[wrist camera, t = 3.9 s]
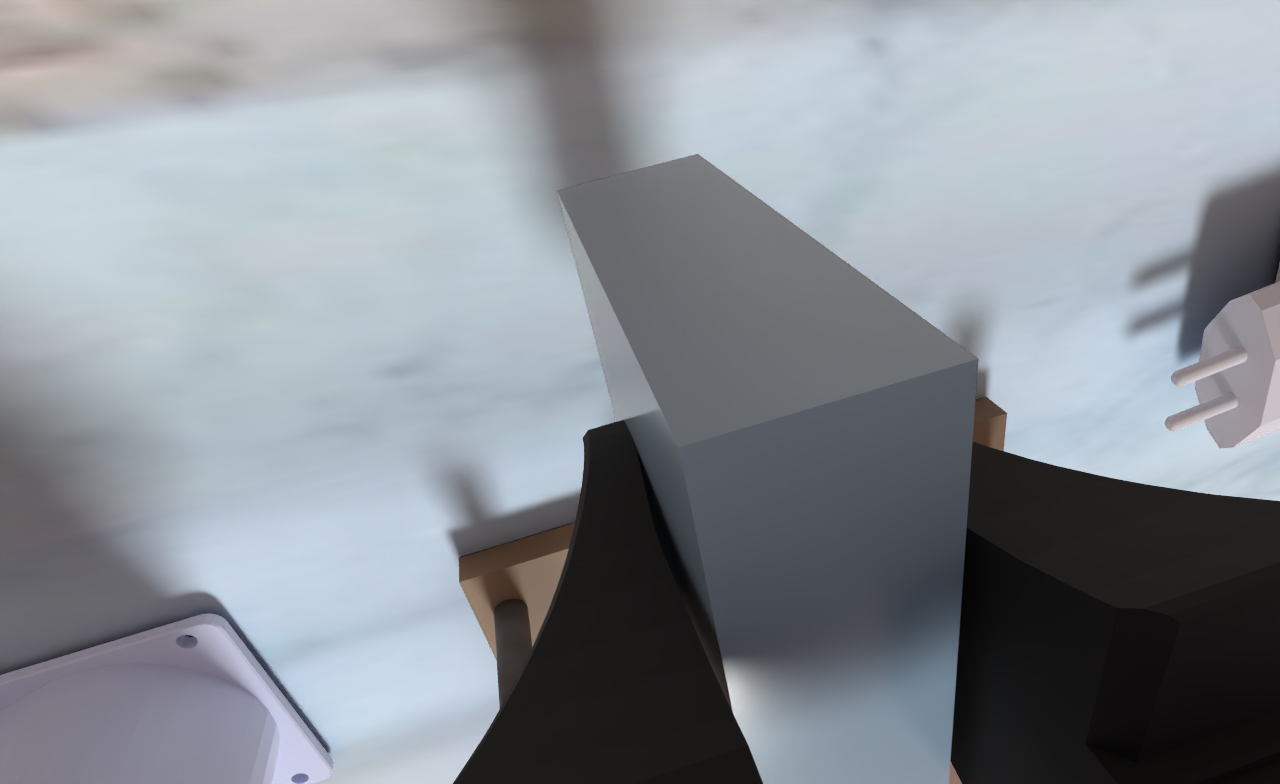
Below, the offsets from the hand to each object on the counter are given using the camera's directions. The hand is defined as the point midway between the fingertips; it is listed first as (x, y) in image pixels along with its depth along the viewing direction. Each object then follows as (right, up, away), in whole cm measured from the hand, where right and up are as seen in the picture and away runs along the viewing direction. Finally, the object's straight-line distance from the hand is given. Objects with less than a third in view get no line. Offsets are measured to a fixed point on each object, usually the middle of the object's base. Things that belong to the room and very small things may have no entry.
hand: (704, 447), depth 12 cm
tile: (-1, +1, +2) cm, 2 cm away
